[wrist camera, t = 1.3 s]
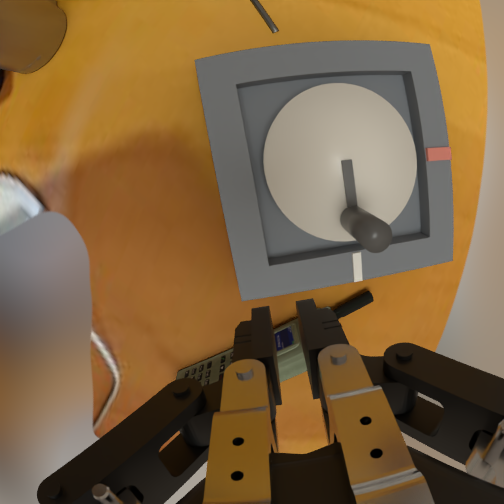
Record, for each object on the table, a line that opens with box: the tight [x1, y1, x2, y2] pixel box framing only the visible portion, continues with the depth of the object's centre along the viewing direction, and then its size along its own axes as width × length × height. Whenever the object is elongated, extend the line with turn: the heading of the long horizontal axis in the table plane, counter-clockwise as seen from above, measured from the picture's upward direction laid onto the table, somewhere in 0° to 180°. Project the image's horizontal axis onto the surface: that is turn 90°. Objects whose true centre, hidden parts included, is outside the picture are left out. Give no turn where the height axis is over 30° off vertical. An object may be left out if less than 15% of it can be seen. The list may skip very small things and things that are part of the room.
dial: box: [263, 83, 417, 253], centre depth 23 cm, size 14×14×8 cm
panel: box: [195, 41, 453, 301], centre depth 27 cm, size 22×22×4 cm
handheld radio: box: [176, 291, 373, 386], centre depth 32 cm, size 7×3×25 cm
